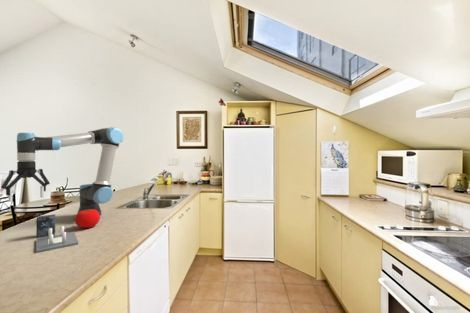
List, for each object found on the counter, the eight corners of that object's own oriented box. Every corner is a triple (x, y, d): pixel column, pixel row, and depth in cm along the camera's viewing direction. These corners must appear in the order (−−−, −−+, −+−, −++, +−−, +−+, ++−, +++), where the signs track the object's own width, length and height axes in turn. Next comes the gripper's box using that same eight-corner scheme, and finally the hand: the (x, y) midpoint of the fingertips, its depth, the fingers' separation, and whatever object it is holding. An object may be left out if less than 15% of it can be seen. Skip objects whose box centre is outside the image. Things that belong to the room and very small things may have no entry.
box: (36, 238, 125) (36, 218, 125) (37, 235, 130) (37, 216, 130) (54, 235, 130) (54, 216, 130) (55, 232, 134) (55, 214, 134)
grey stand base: (73, 233, 132) (73, 223, 132) (78, 244, 117) (78, 232, 117) (36, 240, 122) (36, 228, 122) (36, 252, 107) (36, 239, 106)
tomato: (104, 224, 148) (104, 207, 148) (85, 231, 136) (84, 212, 136) (90, 223, 152) (90, 206, 152) (70, 229, 140) (70, 210, 140)
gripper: (50, 160, 142) (51, 195, 142) (-8, 161, 120) (-7, 202, 121) (56, 160, 138) (56, 196, 138) (-3, 161, 116) (-3, 204, 117)
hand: (27, 199), depth 129 cm, fingers open, 13 cm apart
